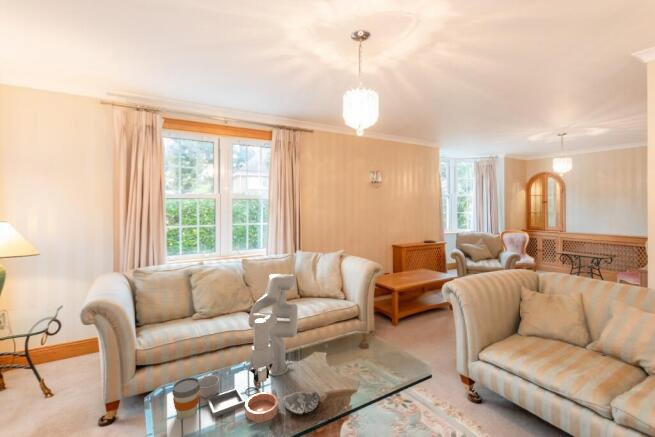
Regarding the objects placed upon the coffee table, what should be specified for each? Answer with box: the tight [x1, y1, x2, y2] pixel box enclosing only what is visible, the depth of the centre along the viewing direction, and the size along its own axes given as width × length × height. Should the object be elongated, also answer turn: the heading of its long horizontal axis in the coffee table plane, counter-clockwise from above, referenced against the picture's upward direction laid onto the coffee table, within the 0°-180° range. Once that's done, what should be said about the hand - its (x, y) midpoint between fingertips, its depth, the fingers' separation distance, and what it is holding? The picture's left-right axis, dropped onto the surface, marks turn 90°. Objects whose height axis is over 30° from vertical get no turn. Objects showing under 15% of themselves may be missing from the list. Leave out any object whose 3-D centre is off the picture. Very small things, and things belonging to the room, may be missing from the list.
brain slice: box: [282, 390, 321, 415], centre depth 166 cm, size 20×17×3 cm
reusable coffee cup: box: [171, 377, 200, 420], centre depth 159 cm, size 13×13×15 cm
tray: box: [206, 387, 246, 418], centre depth 166 cm, size 16×13×3 cm
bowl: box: [244, 392, 279, 423], centre depth 162 cm, size 16×16×4 cm
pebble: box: [257, 366, 267, 383], centre depth 160 cm, size 5×5×5 cm
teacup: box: [199, 374, 220, 399], centre depth 175 cm, size 14×11×8 cm
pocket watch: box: [244, 379, 262, 396], centre depth 177 cm, size 8×8×10 cm
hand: (261, 378), depth 161 cm, fingers closed on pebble, 4 cm apart
